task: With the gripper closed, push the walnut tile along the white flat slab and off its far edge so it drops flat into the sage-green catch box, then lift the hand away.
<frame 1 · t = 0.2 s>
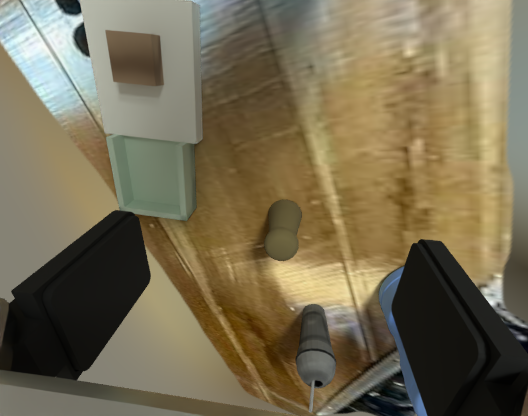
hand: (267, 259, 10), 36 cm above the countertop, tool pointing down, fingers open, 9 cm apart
beverage cup: (313, 311, 61), on the countertop
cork: (285, 214, 50), on the countertop
walnut tile: (141, 59, 38), point 3 cm above the countertop, touching white flat slab
water jug: (419, 290, 55), on the countertop
white flat slab: (153, 74, 42), on the countertop
catch box: (162, 170, 49), on the countertop
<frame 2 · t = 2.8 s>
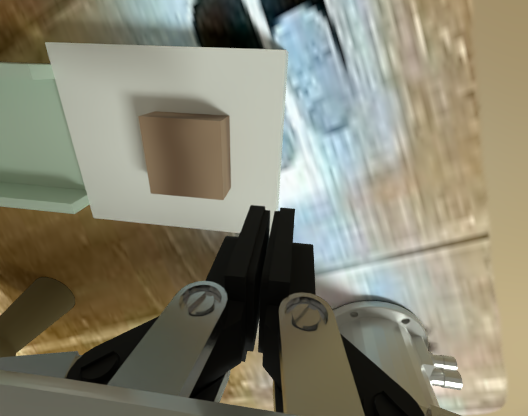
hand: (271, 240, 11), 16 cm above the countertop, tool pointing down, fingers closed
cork: (55, 293, 38), on the countertop
walnut tile: (194, 151, 23), point 3 cm above the countertop, touching white flat slab
white flat slab: (185, 141, 26), on the countertop
catch box: (34, 130, 27), on the countertop
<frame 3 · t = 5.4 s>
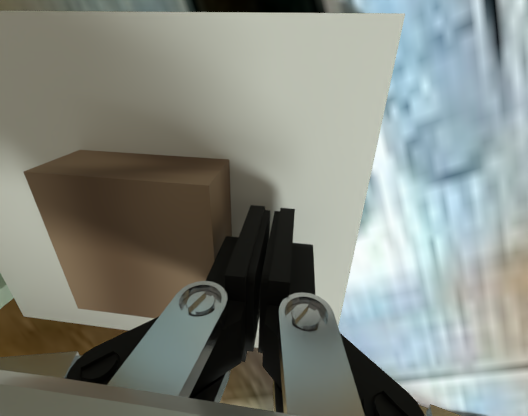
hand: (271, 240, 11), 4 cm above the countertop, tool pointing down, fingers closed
walnut tile: (163, 222, 12), point 3 cm above the countertop, touching gripper
white flat slab: (173, 192, 15), on the countertop
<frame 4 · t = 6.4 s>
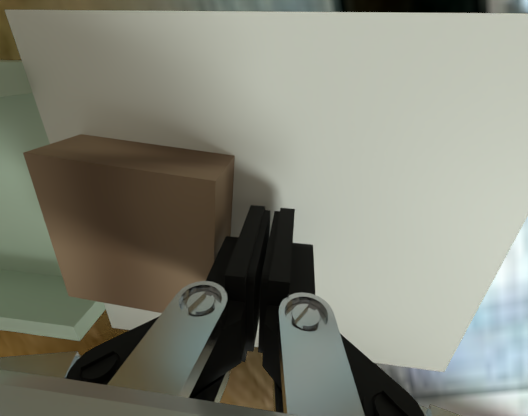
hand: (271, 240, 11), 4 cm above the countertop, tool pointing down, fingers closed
walnut tile: (162, 213, 12), point 3 cm above the countertop, touching white flat slab, gripper
white flat slab: (279, 199, 14), on the countertop
catch box: (6, 178, 16), on the countertop
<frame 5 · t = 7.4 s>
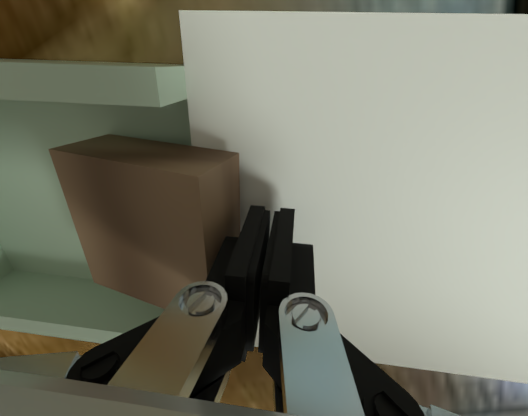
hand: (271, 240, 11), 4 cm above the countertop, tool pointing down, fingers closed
walnut tile: (177, 211, 12), point 3 cm above the countertop, tilted 14°, touching gripper
white flat slab: (398, 209, 14), on the countertop
catch box: (102, 185, 15), on the countertop
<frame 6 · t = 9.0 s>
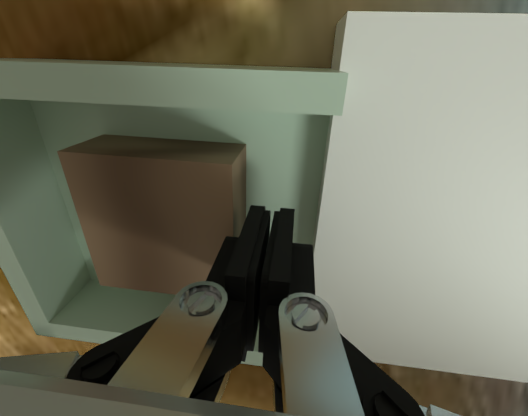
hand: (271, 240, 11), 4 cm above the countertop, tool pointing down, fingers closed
walnut tile: (181, 204, 13), point 2 cm above the countertop, touching catch box, gripper
white flat slab: (507, 217, 13), on the countertop
catch box: (189, 191, 15), on the countertop
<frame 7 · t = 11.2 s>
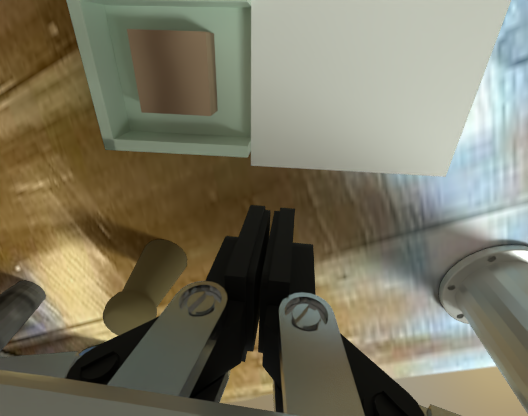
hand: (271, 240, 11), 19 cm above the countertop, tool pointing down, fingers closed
beverage cup: (32, 290, 44), on the countertop
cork: (166, 256, 38), on the countertop
walnut tile: (182, 73, 24), point 2 cm above the countertop, touching catch box
white flat slab: (354, 80, 25), on the countertop
catch box: (186, 74, 26), on the countertop
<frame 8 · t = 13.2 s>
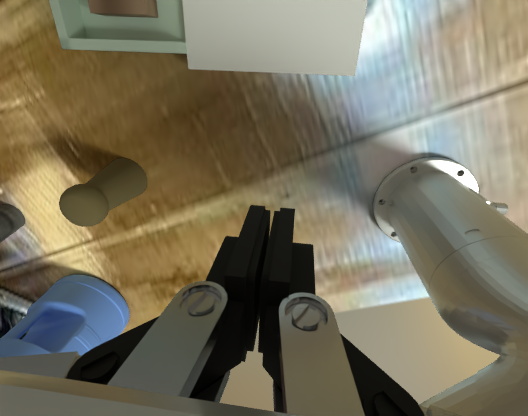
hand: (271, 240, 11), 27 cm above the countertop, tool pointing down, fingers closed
beverage cup: (13, 215, 48), on the countertop
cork: (128, 176, 42), on the countertop
water jug: (94, 301, 56), on the countertop
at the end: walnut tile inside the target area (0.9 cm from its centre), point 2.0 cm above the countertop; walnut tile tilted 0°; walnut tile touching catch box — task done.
